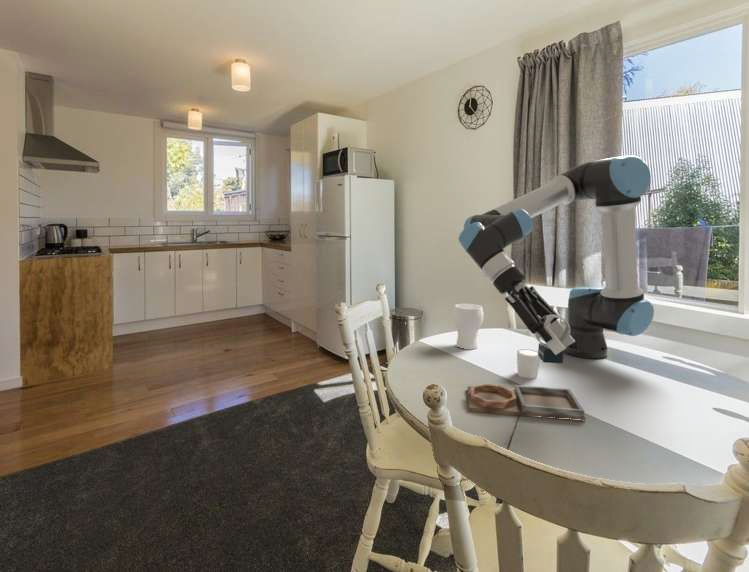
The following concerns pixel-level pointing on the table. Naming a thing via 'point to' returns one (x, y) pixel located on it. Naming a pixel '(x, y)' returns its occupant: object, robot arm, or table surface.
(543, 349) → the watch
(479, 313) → the cup
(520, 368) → the white cylinder
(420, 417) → the table surface
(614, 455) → the table surface
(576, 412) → the sorting board
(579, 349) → the robot arm
